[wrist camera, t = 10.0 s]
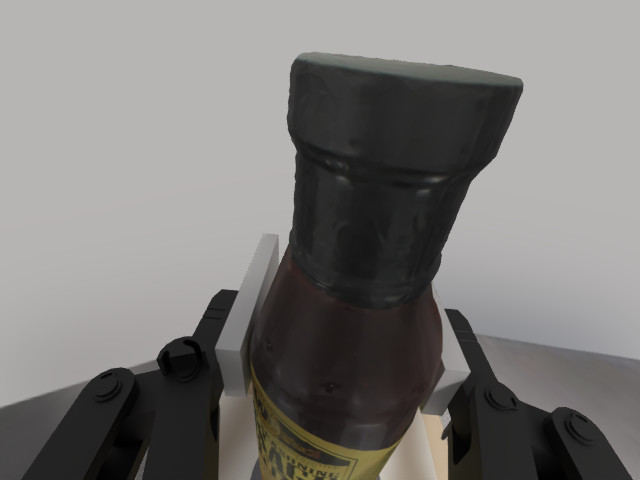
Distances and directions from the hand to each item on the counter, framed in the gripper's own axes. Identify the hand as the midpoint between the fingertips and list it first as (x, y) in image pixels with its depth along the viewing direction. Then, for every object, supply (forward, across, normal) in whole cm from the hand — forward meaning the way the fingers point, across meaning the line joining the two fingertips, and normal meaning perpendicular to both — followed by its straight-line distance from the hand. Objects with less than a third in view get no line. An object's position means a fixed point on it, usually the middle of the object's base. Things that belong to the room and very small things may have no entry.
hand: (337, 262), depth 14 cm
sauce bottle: (-5, 0, -11) cm, 12 cm away
